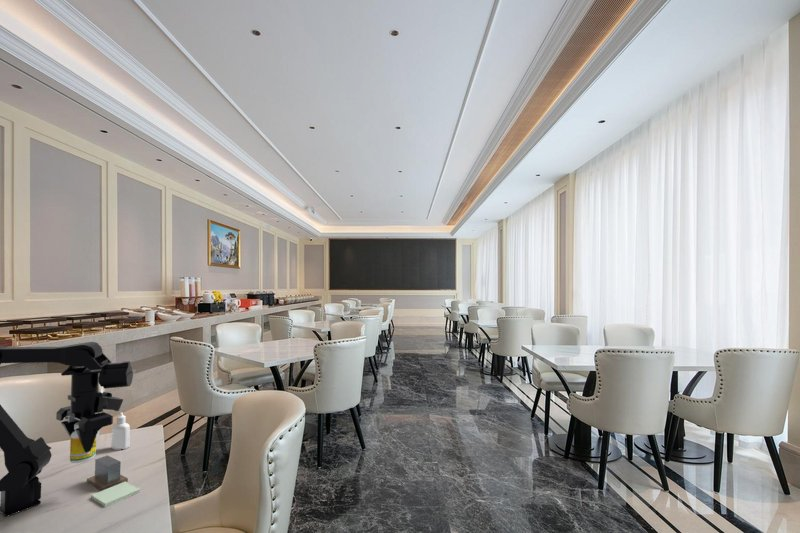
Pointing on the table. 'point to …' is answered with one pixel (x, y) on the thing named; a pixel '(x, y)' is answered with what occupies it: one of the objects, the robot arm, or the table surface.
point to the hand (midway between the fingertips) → (83, 449)
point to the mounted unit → (106, 473)
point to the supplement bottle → (80, 448)
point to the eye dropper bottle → (121, 433)
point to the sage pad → (115, 494)
